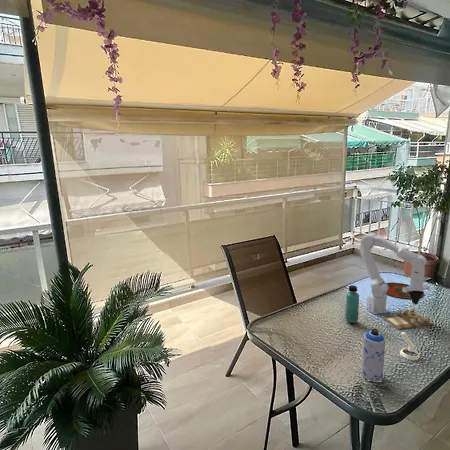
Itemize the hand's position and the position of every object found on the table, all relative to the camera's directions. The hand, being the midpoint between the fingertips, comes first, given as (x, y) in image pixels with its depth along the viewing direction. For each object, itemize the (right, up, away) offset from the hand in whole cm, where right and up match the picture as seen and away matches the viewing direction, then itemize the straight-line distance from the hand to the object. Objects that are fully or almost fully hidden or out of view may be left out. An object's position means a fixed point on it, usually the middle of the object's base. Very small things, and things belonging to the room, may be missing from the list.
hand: (414, 303), depth 159 cm
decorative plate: (+14, -2, +37) cm, 40 cm away
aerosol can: (-41, -19, -38) cm, 59 cm away
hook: (-19, -16, -26) cm, 36 cm away
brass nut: (0, -8, +2) cm, 9 cm away
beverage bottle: (-32, -11, +2) cm, 34 cm away
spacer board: (-4, -10, +1) cm, 10 cm away
